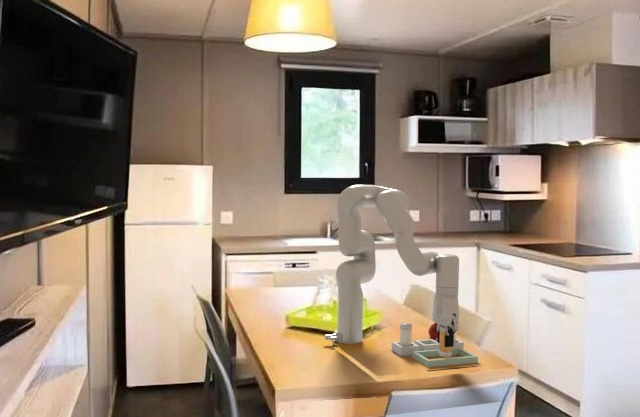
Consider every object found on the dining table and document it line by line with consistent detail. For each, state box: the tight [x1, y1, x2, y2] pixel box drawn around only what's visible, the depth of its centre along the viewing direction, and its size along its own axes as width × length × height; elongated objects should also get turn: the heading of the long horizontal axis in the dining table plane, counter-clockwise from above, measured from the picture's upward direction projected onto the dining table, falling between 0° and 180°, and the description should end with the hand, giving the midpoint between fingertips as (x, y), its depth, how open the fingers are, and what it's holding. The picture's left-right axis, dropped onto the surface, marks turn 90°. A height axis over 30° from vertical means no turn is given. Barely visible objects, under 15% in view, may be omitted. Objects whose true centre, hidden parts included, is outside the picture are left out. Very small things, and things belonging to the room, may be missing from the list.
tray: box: [411, 348, 479, 372], centre depth 208 cm, size 19×11×4 cm, turn 109°
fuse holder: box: [389, 338, 465, 358], centre depth 219 cm, size 26×9×4 cm, turn 109°
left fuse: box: [399, 322, 413, 346], centre depth 216 cm, size 4×4×10 cm
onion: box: [428, 322, 439, 340], centre depth 237 cm, size 6×6×8 cm
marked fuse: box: [439, 325, 452, 358], centre depth 208 cm, size 4×4×10 cm
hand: (445, 344), depth 208 cm, fingers closed on marked fuse, 4 cm apart
